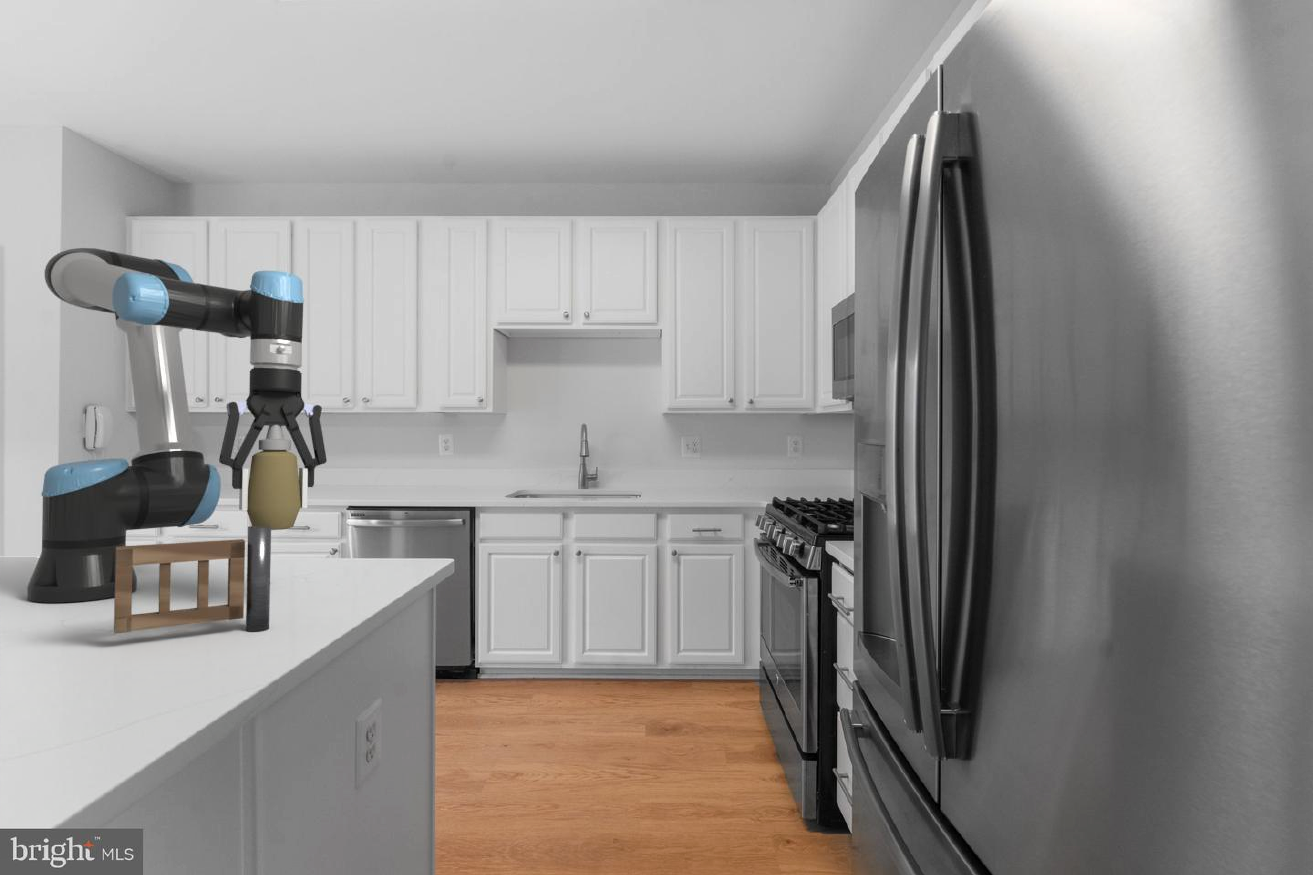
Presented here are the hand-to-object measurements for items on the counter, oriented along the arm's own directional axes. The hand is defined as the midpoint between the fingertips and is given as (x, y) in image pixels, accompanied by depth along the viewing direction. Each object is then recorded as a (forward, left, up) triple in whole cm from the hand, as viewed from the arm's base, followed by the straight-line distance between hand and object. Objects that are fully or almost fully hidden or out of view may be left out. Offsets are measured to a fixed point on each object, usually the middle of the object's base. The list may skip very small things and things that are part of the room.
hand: (273, 508), depth 121 cm
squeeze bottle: (0, 0, -3) cm, 3 cm away
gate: (+12, -14, -14) cm, 23 cm away
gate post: (+12, -4, -16) cm, 21 cm away
